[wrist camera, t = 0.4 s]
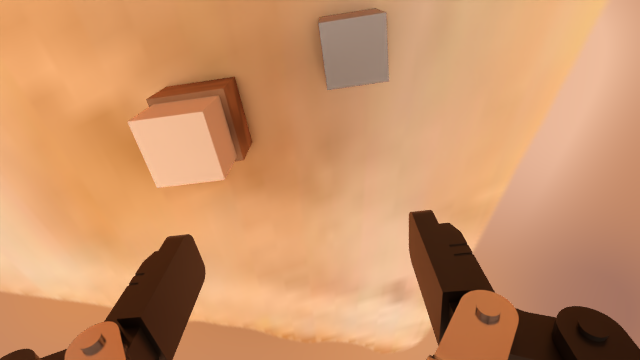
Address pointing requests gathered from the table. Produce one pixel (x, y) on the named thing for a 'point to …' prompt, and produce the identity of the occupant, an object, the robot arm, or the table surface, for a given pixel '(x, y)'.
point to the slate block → (354, 48)
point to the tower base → (228, 100)
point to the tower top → (185, 141)
